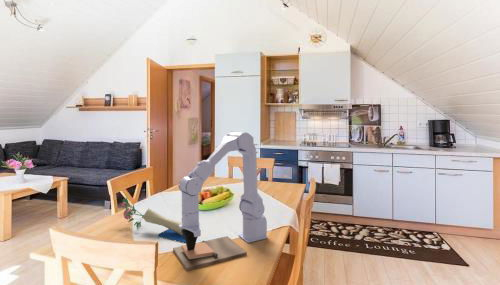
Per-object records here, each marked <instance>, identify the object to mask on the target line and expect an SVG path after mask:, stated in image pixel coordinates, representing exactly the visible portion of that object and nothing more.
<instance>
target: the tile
mask: <svg viewBox="0 0 500 285" xmlns="http://www.w3.org/2000/svg"><path fill="white" fill-rule="evenodd" d="M180 246H181V249H182V250H183V251H184V253H185V254H186V255H187V257H188V258H189V259H193V258H200V257H206V256H212V255H213V253H214V251H213V250H212V249H211V248H210V247H209V246H208V245H207V244H206V243H205V242H203V243H199V242H196V244H195V248H194V250H190V251H189V250H188V249H187V246H186V244H182V245H180Z"/></svg>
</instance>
